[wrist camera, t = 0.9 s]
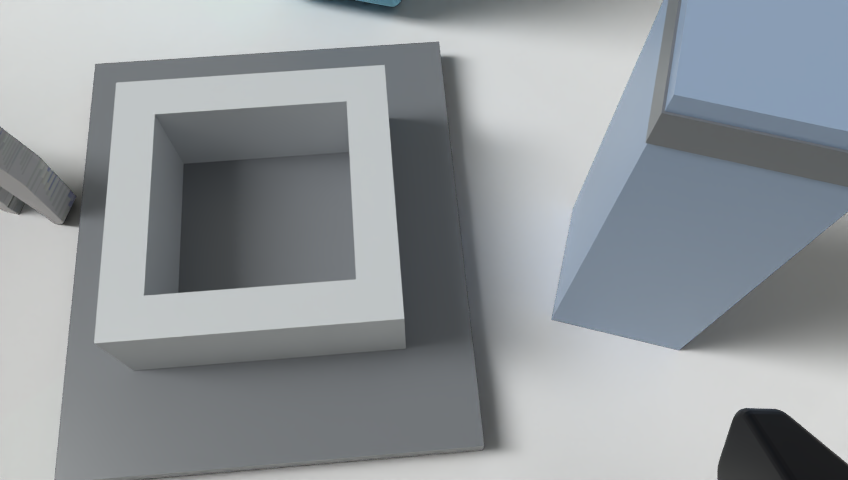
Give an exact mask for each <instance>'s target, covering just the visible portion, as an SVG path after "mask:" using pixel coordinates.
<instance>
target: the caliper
mask: <svg viewBox="0 0 848 480" xmlns="http://www.w3.org/2000/svg"><path fill="white" fill-rule="evenodd" d="M75 198H76V196H75V195H74V193H73V192H72V191H71V190H70V189H69V188H68V187H67V186H66V185H65V183H64V182H63V181H62V180H61V179H60V178H59V177H58V176H57V175H56V174H55V173H54V172H53V171H52V170H51V169H50V168H49V167H48V166H47V164H46V163H45V162H44V161H43V160H42V159H41V158H40V157H39V156H38V155H36V154H35V153H34V152H33V151H31V150H30V149H29V148H27V147H26V146H25V145H23V144H22V143H21V142H19V141H18V140H17V139H16V138H14V137H13V136H12V135H10V134H9V133H8V132H6V131H5V130H4V129H3V128H1V127H0V209H2V210H3V211H6V212H10V213H14V214H18V215H19V213H20V212H21V210H22V208H23V206H24V204H25V203H26V204H27V205H29V206H30V207H32V208H33V209H35V210H36V211H38V212H39V213H40V214H42V215H43V216H45V217H46V218H47V219H49V220H50V221H52V222H53V223H54V224H62V223H64V221H65V219H66V216H67V214H68V212H69V210H70V208H71V206H72V204H73V202H74V200H75Z"/></svg>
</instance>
